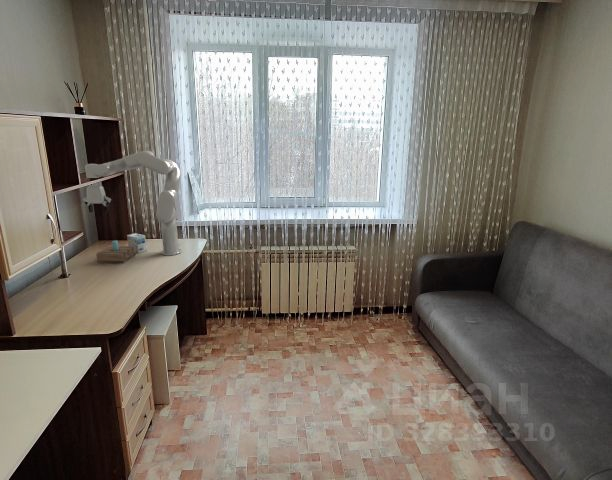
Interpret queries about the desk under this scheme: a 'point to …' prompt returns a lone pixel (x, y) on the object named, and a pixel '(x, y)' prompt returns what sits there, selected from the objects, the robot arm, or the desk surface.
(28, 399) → the desk surface
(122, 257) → the walnut socket block
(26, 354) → the desk surface
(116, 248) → the teal peg
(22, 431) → the desk surface
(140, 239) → the light bulb box
